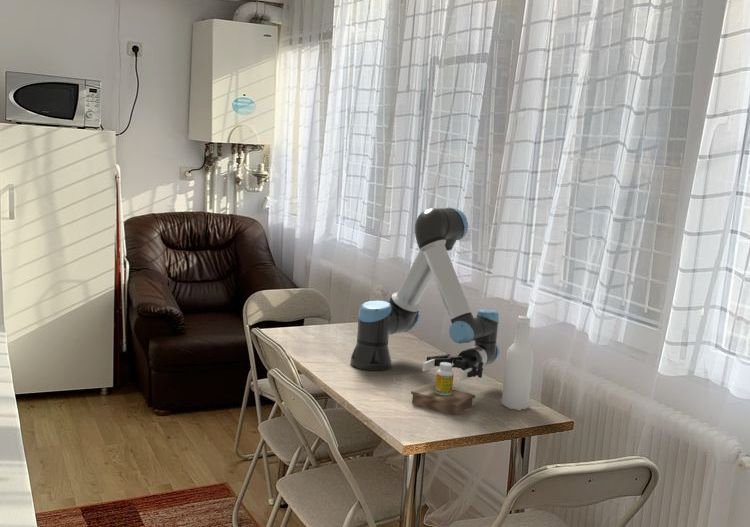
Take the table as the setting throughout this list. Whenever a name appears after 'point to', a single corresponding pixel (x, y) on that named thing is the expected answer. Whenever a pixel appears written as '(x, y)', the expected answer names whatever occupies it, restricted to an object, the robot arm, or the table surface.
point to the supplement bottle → (444, 379)
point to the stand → (442, 399)
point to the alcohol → (518, 368)
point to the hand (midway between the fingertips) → (442, 371)
